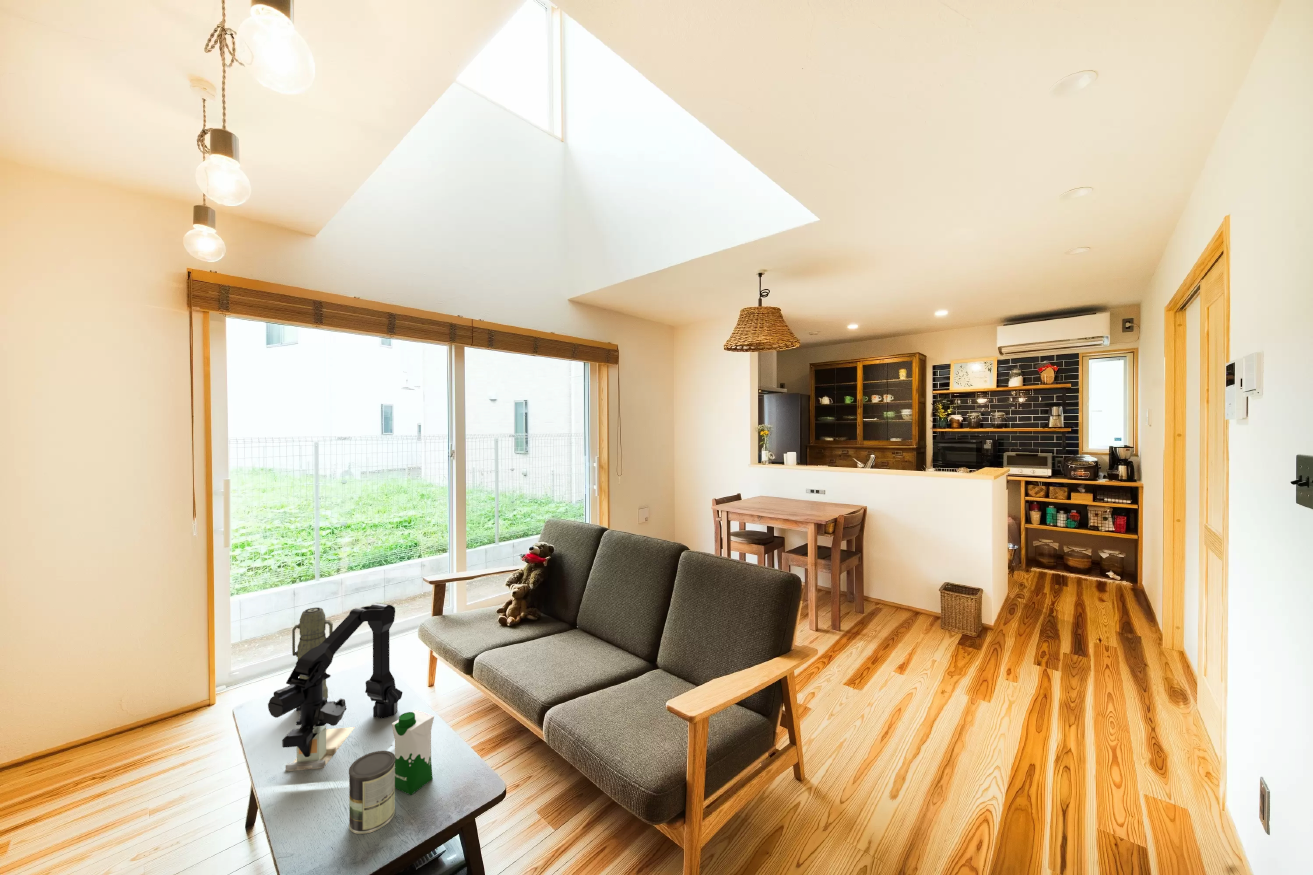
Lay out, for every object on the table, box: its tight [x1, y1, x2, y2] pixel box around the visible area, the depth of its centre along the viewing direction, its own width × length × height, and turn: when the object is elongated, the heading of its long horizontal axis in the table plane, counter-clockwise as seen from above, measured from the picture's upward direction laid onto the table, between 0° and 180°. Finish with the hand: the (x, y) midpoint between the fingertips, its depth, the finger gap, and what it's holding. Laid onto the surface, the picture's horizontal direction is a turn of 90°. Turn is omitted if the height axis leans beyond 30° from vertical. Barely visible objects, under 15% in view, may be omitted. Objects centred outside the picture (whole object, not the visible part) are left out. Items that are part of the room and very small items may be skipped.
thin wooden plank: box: [285, 726, 356, 772], centre depth 153 cm, size 10×20×3 cm, turn 8°
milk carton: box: [391, 709, 435, 796], centre depth 139 cm, size 9×9×20 cm
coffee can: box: [348, 750, 396, 835], centre depth 127 cm, size 10×10×14 cm
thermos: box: [291, 607, 334, 700], centre depth 177 cm, size 9×12×35 cm
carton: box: [296, 725, 327, 762], centre depth 146 cm, size 4×6×8 cm
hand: (311, 751), depth 146 cm, fingers closed on carton, 4 cm apart
